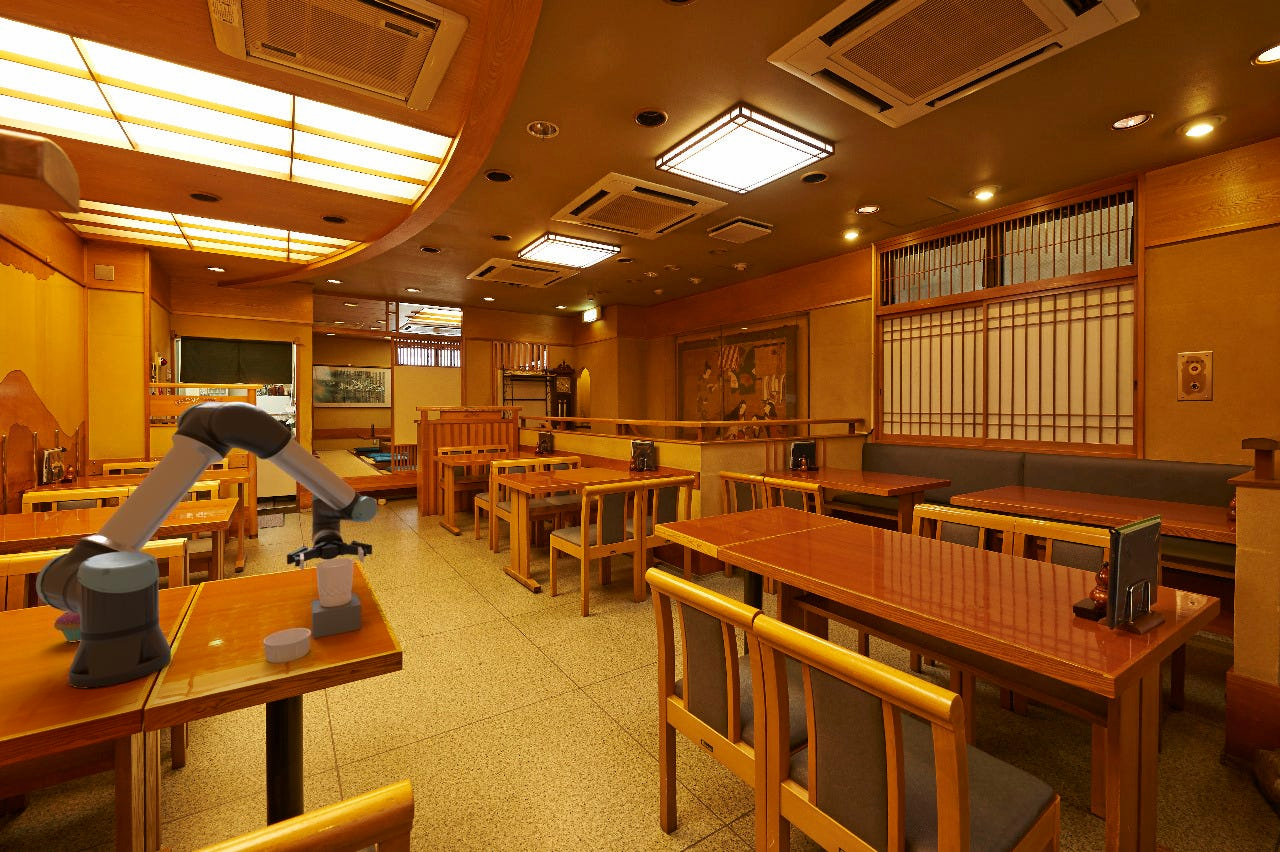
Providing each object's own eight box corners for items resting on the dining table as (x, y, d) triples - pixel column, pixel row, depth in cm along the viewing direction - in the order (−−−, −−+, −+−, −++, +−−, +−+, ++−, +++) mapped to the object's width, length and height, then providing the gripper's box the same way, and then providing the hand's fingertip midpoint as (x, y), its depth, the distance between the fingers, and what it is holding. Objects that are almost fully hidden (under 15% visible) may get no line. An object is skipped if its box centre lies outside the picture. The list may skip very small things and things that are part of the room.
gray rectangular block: (313, 638, 127) (312, 613, 126) (311, 624, 135) (311, 600, 135) (361, 629, 132) (360, 604, 132) (356, 616, 140) (356, 593, 140)
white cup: (360, 597, 137) (359, 558, 137) (340, 609, 129) (339, 567, 129) (331, 596, 138) (330, 557, 137) (309, 607, 130) (308, 566, 130)
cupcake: (109, 628, 132) (107, 579, 132) (105, 639, 126) (103, 588, 125) (58, 637, 127) (56, 587, 126) (51, 650, 120) (49, 596, 120)
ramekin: (311, 659, 117) (310, 639, 116) (261, 668, 112) (260, 648, 112) (312, 643, 124) (312, 624, 124) (265, 652, 120) (265, 632, 120)
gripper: (375, 551, 166) (385, 567, 148) (277, 562, 153) (275, 582, 135) (375, 526, 166) (385, 540, 148) (277, 536, 152) (275, 552, 134)
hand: (332, 560), depth 141 cm, fingers open, 13 cm apart
